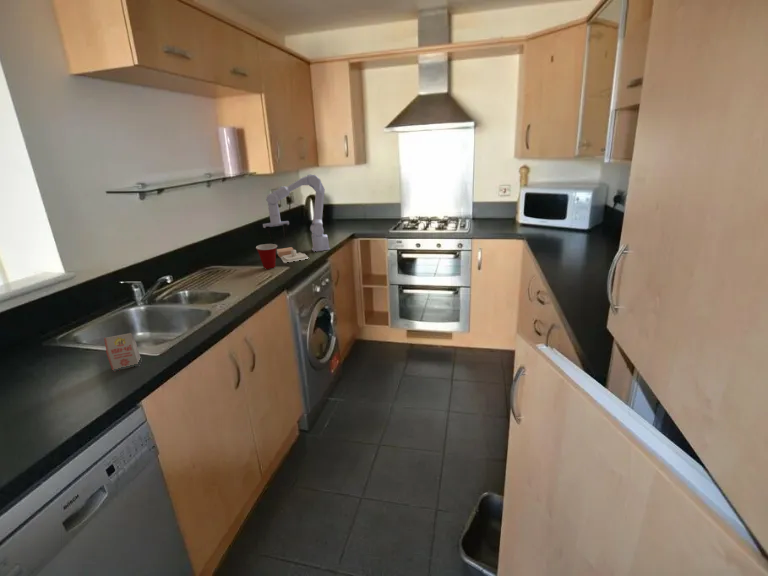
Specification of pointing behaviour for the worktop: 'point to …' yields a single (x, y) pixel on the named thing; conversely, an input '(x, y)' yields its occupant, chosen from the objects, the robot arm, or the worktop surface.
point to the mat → (293, 260)
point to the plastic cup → (267, 255)
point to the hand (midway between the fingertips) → (278, 238)
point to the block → (284, 251)
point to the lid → (294, 256)
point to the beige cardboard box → (122, 351)
